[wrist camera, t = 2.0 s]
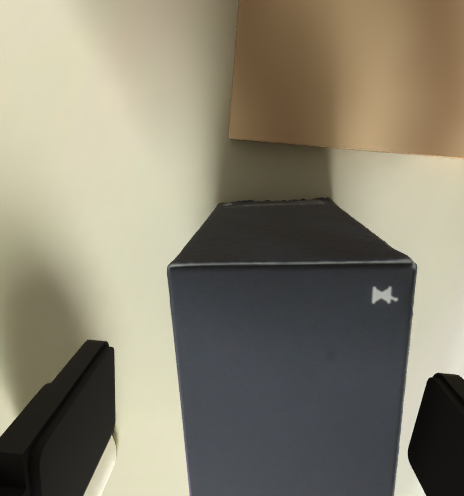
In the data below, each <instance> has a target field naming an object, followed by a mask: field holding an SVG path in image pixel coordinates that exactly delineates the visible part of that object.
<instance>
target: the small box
mask: <svg viewBox="0 0 464 496" xmlns="http://www.w3.org/2000/svg"><path fill="white" fill-rule="evenodd" d="M416 274H417V264H416V263H414V262H413V260H412V259H411V258H410V257H408V256H407V255H405V254H403V253H401V252H399V251H397V250H395V249H393V248H392V247H391V246H389V245H388V244H387V243H386V242H385V241H383V240H382V239H380V238H379V237H378V236H376V235H375V234H374V233H372V232H371V231H370V230H369V229H368V228H366V227H364V226H363V225H362V224H360V223H359V222H357V221H356V220H355V219H354V218H352V217H351V216H350V215H349V214H348V213H346V212H345V211H343V210H342V209H341V208H339V207H338V206H337V205H336V204H335V203H334V202H333V201H332V200H331V199H330V198H329V197H327V198H326V199H325V198H316V199H313V200H305V199H301V200H289V201H285V200H283V201H269V200H268V201H257V202H254V201H252V200H248V201H237V202H231V203H220V204H218V205H217V207H216V208H215V209H214V211H213V212H212V213H211V215H210V216H209V217H208V219H207V220H206V221H205V222H204V224H203V225H202V226H201V227H200V229H199V230H198V231H197V232H196V233H195V235H194V236H193V237H192V238H191V240H190V241H189V242H188V243H187V244H186V246H185V247H184V248H183V250H182V251H181V253H180V254H179V255H178V256H177V257H176V258H175V260H173V261H172V262H171V263H170V264H169V265H168V267H167V277H168V286H169V294H170V307H171V315H172V324H173V333H174V343H175V352H176V362H177V372H178V381H179V391H180V401H181V410H182V420H183V430H184V440H185V451H186V461H187V471H188V481H189V492H190V496H394V490H395V480H396V471H397V462H398V453H399V441H400V433H401V422H402V413H403V401H404V393H405V384H406V373H407V363H408V355H409V347H410V334H411V325H412V316H413V304H414V293H415V284H416Z"/></svg>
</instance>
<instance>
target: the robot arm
mask: <svg viewBox="0 0 464 496" xmlns="http://www.w3.org/2000/svg"><path fill="white" fill-rule="evenodd" d="M114 427H115V366H114V348H113V347H109V344H108V342H107V341H97V340H87V341H86V342H85V343H84V344H83V345H82V346H81V348H80V349H79V350H78V351H77V352H76V354H75V355H74V356H73V357H72V358H71V360H70V361H69V362H68V363H67V365H66V366H65V367H64V368H63V369H62V371H61V372H60V373H59V374H58V375H57V377H56V378H55V379H54V380H53V381H52V383H48V384H46V385H45V386H43V387H42V388H41V390H40V391H39V392H38V393H37V394H36V395H35V397H34V398H33V399H32V400H31V401H30V403H29V404H28V405H27V406H26V407H25V408H24V410H23V411H22V412H21V413H20V414H19V415H18V417H17V418H16V419H15V420H14V421H13V423H12V424H11V425H10V426H9V427H8V428H7V430H6V431H5V432H4V433H3V434H2V436H1V437H0V496H84V493H85V491H86V489H87V487H88V485H89V483H90V481H91V478H92V476H93V474H94V472H95V470H96V468H97V466H98V464H99V461H100V459H101V457H102V455H103V453H104V451H105V449H106V446H107V444H108V442H109V440H110V438H111V436H112V433H113V430H114ZM408 459H409V462H410V465H411V467H412V469H413V471H414V472H415V474H416V476H417V478H418V480H419V482H420V484H421V486H422V488H423V490H424V492H425V494H426V496H464V380H463V378H462V377H460V376H459V375H454V374H444V373H436V374H435V375H434V376H433V378H432V377H431V378H429V379H428V381H427V384H426V387H425V391H424V394H423V398H422V401H421V405H420V408H419V412H418V416H417V419H416V423H415V426H414V430H413V433H412V437H411V440H410V444H409V447H408Z"/></svg>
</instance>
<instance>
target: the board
mask: <svg viewBox="0 0 464 496" xmlns="http://www.w3.org/2000/svg"><path fill="white" fill-rule="evenodd" d="M228 138H229V139H233V140H245V141H257V142H268V143H280V144H292V145H304V146H316V147H328V148H340V149H352V150H364V151H376V152H388V153H400V154H411V155H423V156H435V157H447V158H459V159H464V0H239V5H238V19H237V32H236V45H235V58H234V71H233V84H232V98H231V111H230V124H229V137H228Z"/></svg>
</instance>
